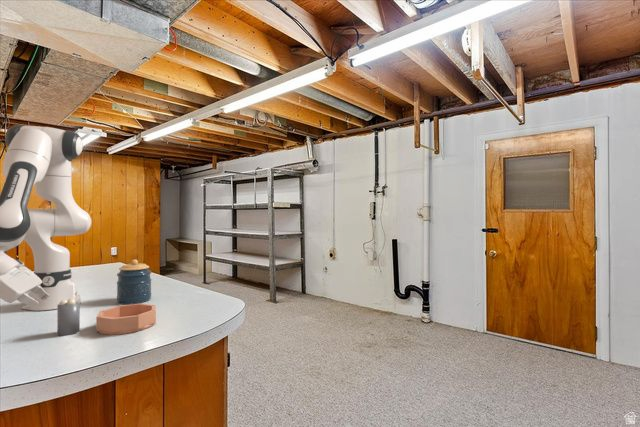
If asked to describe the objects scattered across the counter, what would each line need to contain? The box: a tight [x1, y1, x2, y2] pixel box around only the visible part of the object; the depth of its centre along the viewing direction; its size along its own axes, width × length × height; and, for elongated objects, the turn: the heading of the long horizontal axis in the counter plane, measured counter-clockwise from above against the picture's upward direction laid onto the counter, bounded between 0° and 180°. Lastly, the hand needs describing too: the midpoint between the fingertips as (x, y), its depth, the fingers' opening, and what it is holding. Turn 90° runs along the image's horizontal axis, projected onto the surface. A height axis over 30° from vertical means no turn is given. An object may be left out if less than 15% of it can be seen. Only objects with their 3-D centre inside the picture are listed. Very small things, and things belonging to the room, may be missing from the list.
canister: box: [116, 259, 153, 305], centre depth 141 cm, size 13×13×18 cm
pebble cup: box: [56, 298, 81, 337], centre depth 103 cm, size 6×6×10 cm
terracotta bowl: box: [95, 303, 157, 336], centre depth 109 cm, size 16×16×5 cm
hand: (42, 301), depth 100 cm, fingers open, 8 cm apart
